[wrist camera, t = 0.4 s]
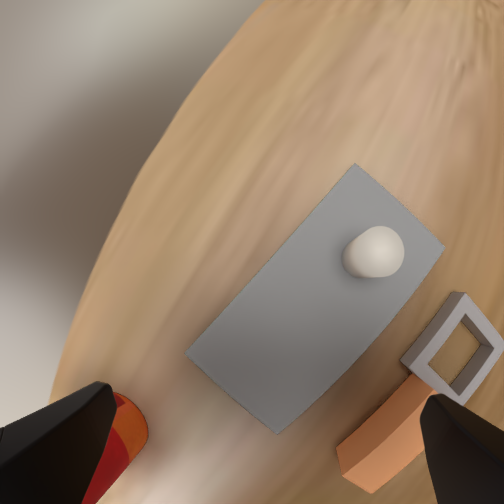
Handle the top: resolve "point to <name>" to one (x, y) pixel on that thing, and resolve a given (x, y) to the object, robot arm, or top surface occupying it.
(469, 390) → the square frame with handle
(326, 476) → the top surface
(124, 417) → the coffee cup
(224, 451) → the top surface
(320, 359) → the keeper
